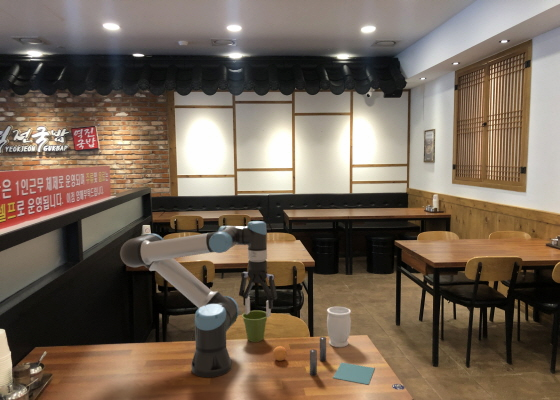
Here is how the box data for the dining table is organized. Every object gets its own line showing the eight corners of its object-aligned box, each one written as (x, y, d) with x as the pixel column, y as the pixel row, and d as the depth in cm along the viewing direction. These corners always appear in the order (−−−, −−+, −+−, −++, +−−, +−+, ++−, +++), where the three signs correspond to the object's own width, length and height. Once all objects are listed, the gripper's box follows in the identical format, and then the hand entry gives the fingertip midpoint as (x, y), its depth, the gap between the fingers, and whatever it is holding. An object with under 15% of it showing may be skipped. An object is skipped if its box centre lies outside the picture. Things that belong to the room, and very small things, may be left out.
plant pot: (260, 332, 199) (260, 308, 198) (273, 341, 189) (273, 316, 188) (237, 337, 193) (237, 313, 192) (249, 346, 183) (248, 321, 182)
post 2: (318, 360, 170) (318, 338, 169) (320, 358, 172) (320, 336, 171) (325, 361, 169) (325, 339, 168) (326, 359, 171) (326, 337, 170)
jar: (350, 349, 180) (350, 315, 179) (325, 347, 182) (325, 313, 181) (351, 339, 190) (351, 306, 189) (327, 337, 192) (328, 305, 191)
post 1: (308, 375, 158) (308, 351, 157) (311, 372, 160) (311, 348, 160) (315, 376, 157) (315, 352, 156) (317, 373, 159) (317, 350, 159)
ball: (270, 361, 169) (270, 348, 169) (276, 356, 174) (276, 342, 174) (283, 364, 167) (283, 350, 166) (288, 358, 172) (288, 345, 172)
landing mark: (332, 378, 156) (332, 377, 156) (341, 362, 168) (341, 362, 168) (368, 384, 151) (368, 384, 151) (374, 368, 163) (374, 368, 163)
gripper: (229, 259, 171) (230, 314, 173) (278, 264, 163) (279, 321, 165) (238, 256, 178) (238, 308, 180) (285, 260, 170) (286, 315, 172)
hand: (258, 314), depth 173 cm, fingers open, 9 cm apart
